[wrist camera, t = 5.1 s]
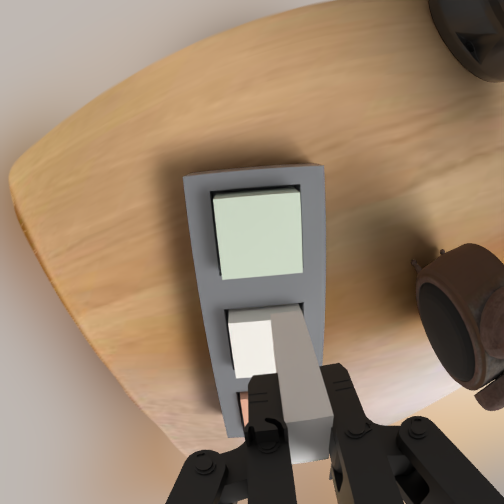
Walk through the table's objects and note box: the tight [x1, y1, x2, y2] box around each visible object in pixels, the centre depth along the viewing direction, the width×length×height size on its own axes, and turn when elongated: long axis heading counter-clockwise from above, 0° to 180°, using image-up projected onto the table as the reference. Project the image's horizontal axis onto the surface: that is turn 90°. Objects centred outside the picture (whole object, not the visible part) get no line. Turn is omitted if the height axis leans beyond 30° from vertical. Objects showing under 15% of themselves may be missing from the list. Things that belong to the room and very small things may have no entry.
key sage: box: [213, 187, 303, 280], centre depth 25 cm, size 6×6×3 cm
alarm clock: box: [411, 243, 504, 411], centre depth 23 cm, size 15×7×20 cm, turn 26°
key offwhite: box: [228, 303, 301, 378], centre depth 28 cm, size 6×6×3 cm
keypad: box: [183, 163, 326, 438], centre depth 30 cm, size 11×31×4 cm, turn 4°
